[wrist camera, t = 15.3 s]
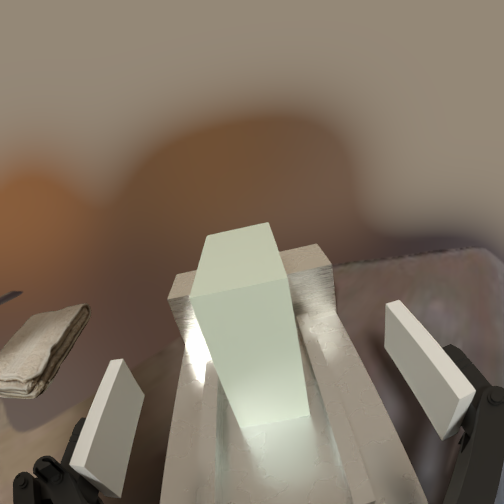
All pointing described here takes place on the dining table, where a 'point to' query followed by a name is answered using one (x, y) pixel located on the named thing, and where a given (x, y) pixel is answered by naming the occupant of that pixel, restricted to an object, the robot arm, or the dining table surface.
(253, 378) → the block
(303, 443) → the rail plate
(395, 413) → the dining table surface
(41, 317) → the washcloth
